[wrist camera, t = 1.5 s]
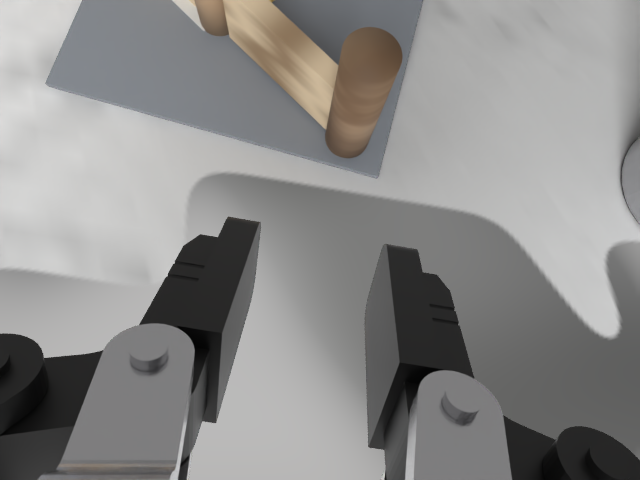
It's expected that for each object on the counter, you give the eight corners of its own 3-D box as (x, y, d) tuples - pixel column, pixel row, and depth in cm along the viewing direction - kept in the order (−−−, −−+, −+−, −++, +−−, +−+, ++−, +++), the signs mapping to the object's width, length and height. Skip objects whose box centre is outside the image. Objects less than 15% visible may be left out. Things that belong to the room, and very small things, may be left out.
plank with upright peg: (220, 44, 31) (194, -74, 22) (251, 19, 31) (238, -106, 23) (347, 166, 30) (373, 94, 21) (377, 138, 30) (415, 56, 21)
